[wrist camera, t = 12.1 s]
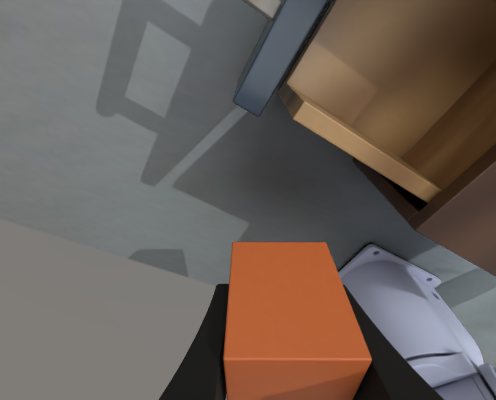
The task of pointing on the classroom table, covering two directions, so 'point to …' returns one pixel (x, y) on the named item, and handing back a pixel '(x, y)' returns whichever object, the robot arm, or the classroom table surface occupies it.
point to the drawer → (384, 81)
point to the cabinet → (452, 210)
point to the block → (290, 325)
